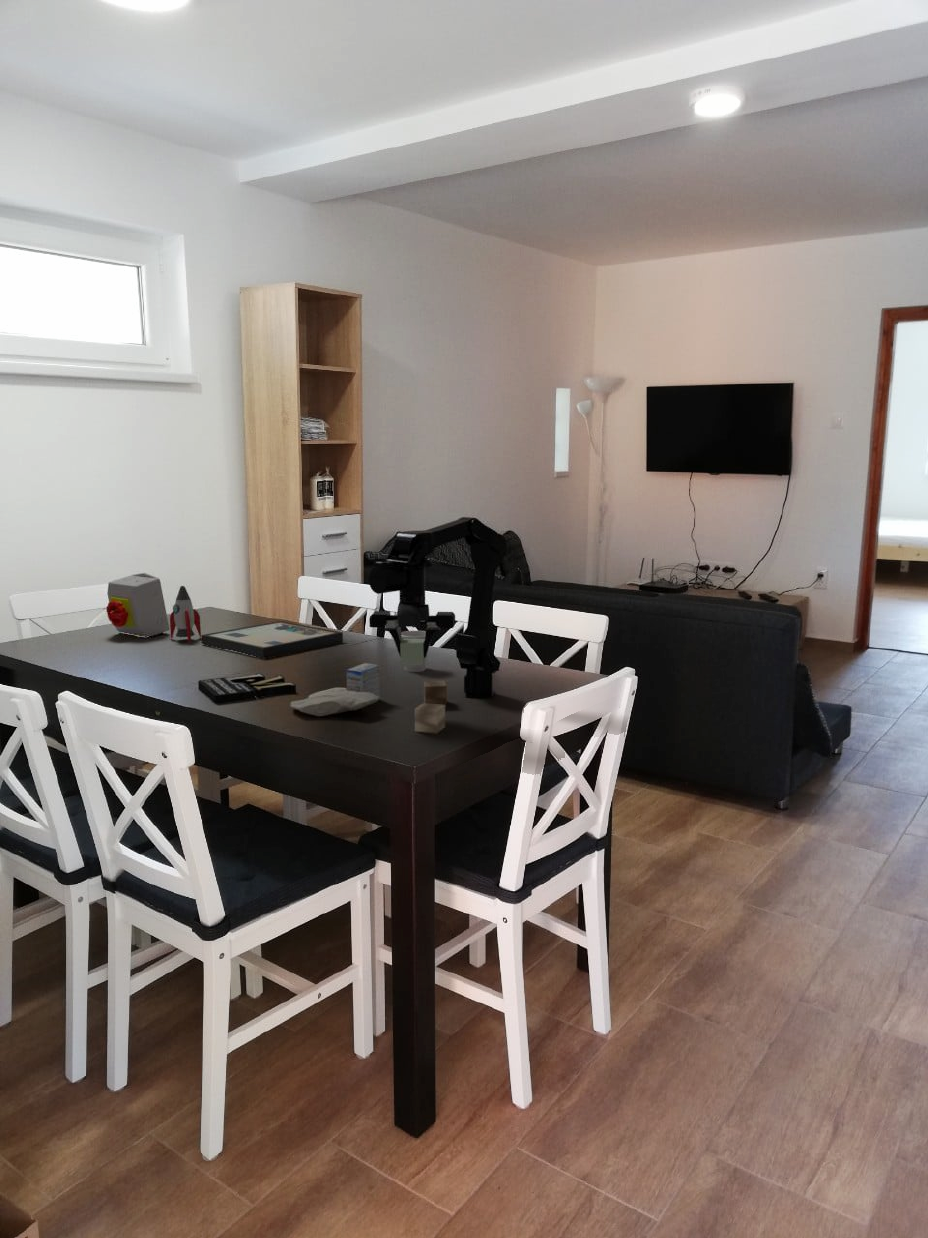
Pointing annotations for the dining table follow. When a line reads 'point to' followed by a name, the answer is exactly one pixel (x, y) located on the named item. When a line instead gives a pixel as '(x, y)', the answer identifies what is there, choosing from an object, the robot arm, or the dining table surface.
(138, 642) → the dining table surface
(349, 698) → the rock
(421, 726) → the beech cube
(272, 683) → the decorative sign
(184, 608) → the toy
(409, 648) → the sage cube
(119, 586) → the electrical switch box
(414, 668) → the dixie cup
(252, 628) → the board game box
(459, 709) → the dining table surface
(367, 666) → the medicine box
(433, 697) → the walnut cube
